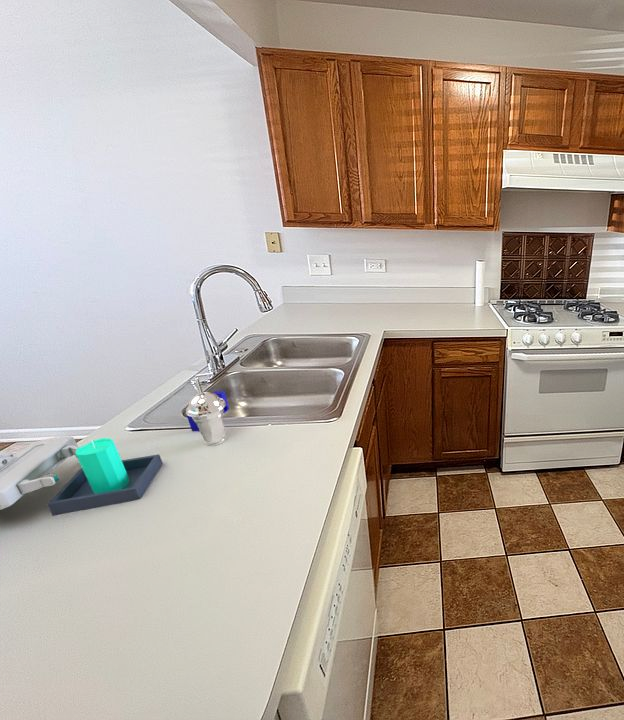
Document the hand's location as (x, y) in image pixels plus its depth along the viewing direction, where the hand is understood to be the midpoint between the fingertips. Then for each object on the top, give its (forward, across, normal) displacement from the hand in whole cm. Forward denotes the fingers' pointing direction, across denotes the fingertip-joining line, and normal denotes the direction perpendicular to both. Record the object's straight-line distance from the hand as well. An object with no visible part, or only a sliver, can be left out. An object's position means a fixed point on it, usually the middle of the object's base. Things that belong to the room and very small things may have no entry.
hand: (72, 464), depth 82 cm
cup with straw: (+21, -15, -7) cm, 27 cm away
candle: (+5, 0, -7) cm, 9 cm away
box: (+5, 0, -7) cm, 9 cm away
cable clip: (+14, -28, -7) cm, 32 cm away
